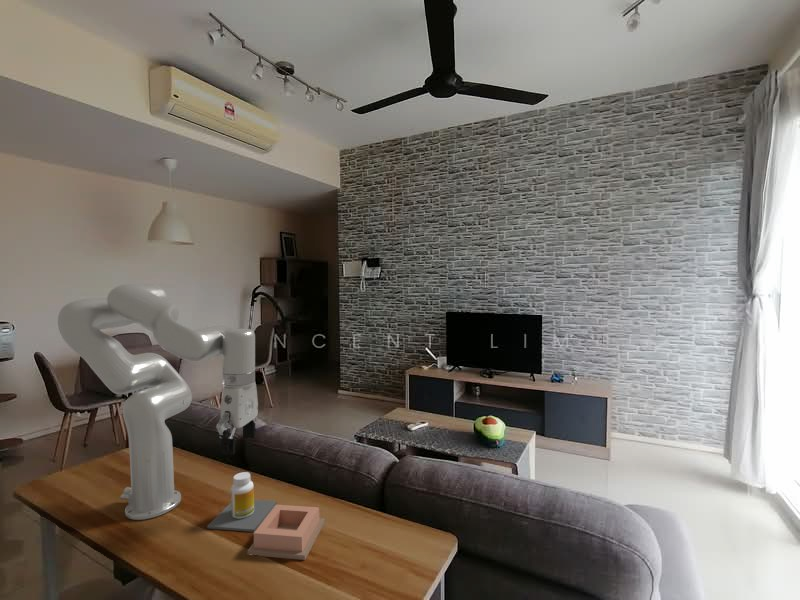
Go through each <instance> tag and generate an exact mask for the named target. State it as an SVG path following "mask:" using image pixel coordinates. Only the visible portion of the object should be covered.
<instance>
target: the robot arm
mask: <svg viewBox="0 0 800 600" xmlns="http://www.w3.org/2000/svg"><path fill="white" fill-rule="evenodd" d="M179 310H180V309H179V308H178V305H177V304H174V303H173V302H171V301H169V297H168V294H167V292H166V291H165V290H164V288H162V287H161V286H159V285H157V284H154V283H125V284H120V285H117V286H115V287H114V288H112V289H111V290H110V291H109V292H108V294H107V297H93V298H82V299H77V300H74V301H70V302H68V303H66V304H65V305H64V306H62V307H61V309H60V310H59V312H58V314H57V315H58V316H57V327H58V332H59V333H60V336H61V338H62V339H63V341H64V342H65V344H67V345H68V347H69V348H70V349H72V350H73V352H75V353H76V354H77V355H78V356H80V357H81V358H82V359H83V360H84V362H86V363H87V365H88V366H89V367H90V369H91V370H92V371H93V373H94V374H95V375H96V376H97V378H99V380H101V382H102V383H103V384H104V385H105V387H107V388H108V389H109V390H110V391H111V392H112V393H113V394H116V395H125V394H130V393H133V392H134V393H133V394H131V395H130V396H129V397H128V398H127V399H126V400H125V402H124V403H123V406H122V416H123V419H124V424H125V427H126V431H127V436H128V446H129V447H128V448H129V449H128V451H129V462H130V463H129V466H130V467H129V468H130V485H131V486H130V487H129V486H126V487H125V488H124V490H123V493H122V494H121V495H120V499H121V500H128V501H127V502H128V504H127V505H126V507H125V509H124V514H125V517H126V518H127V519H130V520H136V521H140V520H141V521H142V520H149V519H153V518H156V517H160V516H162V515H164V514H166V513H169V512H170V511H171V510H173V509H175V508H176V507H177V506H179V504H180V503H181V501H182V493H181V492H180V491H179V490H175V478H174V477H175V474H174V450H173V447H174V446H173V436H172V433H171V430H170V429H169V427H168V426H167V424H166V423H165V420H168V419H169V418H171V417H173V416H175V415H177V414H180V413H181V412H183V411H186V409H188V408H189V406H190V405H191V403H192V400H193V394H192V391H191V388H190V386H189V385H188V383H187V382H186V381H185V379H184V378H183V376H181V375H180V373H178V371H177V370H176V369H175V368H174V367H173V366H172V365H171V363H170V362H169V361H168V360H167V359H166V358H164V356H162V355H160V354H158V353H155V352H143V353H138V354H132V353H131V352H129V351H128V350H127V349H126V348H125V347H124V346H123V344H122V343H121V342H120V341H118V340H117V339H116V338H114V337H112V336H111V335H109V334H107V333H104V332H103V331H102V330H106V329H112V328H113V329H114V328H121V327H125V326H130V325H133V324H136V325H139V326H140V327H142V328H144V329H146V330H147V331H150V332H152V335H153V338H154V340H155V341H156V343H157V344H158V346H159V347H160V348H161V349H163V350H164V351H166V352H168V353H170V354H171V355H173V356H175V357H177V358H179V359H182V360H185V361H188V362H201V361H203V360H207V359H211V358H214V357H218V356H222V393H221V401H220V402H221V403H220V419H219V421H218V422H217V424H216V426H215V428H216V430H217V434H218V436H219V439H220V451H221V452H220V453H221V454H222V455H231V456H233V455H234V454H236V446H235V445H236V444H235V443H236V439H235V437H234V436H235V432H236V429H241V428H242V438H246V439H254V438H255V437H256V421H257V417H258V414H259V401H258V390H257V389H258V388H257V384H256V334H255V332H254V330H253V329H250V328H232V327H227V326H222V325H215V326H207V327H202V328H197V329H192V328H189V327H187V326H185V325H183V324H181V323H180V322H177V321H178V319H179V315H180V311H179ZM228 429H230V430H229V431H230V432H229V431H228Z"/></svg>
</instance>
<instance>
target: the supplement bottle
mask: <svg viewBox="0 0 800 600" xmlns="http://www.w3.org/2000/svg"><path fill="white" fill-rule="evenodd" d="M251 478H252V477H251V473H250V472H248V471H243V472H239V473H236V474H235V475H234V476H233V480H232V481H233V484H232V485H231V487H230V503H231V511H232V516H233V517H234V518H237V519H241V518H246V517H248V516H250V515H251V514H252V513H253V512H254V500H255V491H254V489H255V487H254V482H253V481H252V479H251Z"/></svg>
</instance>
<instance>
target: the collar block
mask: <svg viewBox="0 0 800 600" xmlns="http://www.w3.org/2000/svg"><path fill="white" fill-rule="evenodd" d="M325 523H326V520H325V518H323V517H320V507H318V506H316V507H315V506H303V505H301V506H300V505H290V504H289V505H286V504H276V505H275V506H274V507H273V509H272V510H271V511H270V513H269V514H268V515H267V516H266V518H265V519H264V520H263V521H262V523H261V524H260V525H259V526H258V528H257V529H256V530H255V532H253V543H252V544H251V545H250V547H249V548H248V549H247V555H248V554H252V555H251V556H253V555H259V556H258V557H266V558H267V557H269V558H277V559H278V558H279V559H289V560H300V561H305V560H306V559H307V557H308V555H309V553H310V551H311V550H312V547H313V545H314V544H315V541H316V540H317V538H318V537H319V535H320V532H321V531H322V529H323V527H324V525H325Z"/></svg>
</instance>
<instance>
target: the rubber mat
mask: <svg viewBox="0 0 800 600" xmlns="http://www.w3.org/2000/svg"><path fill="white" fill-rule="evenodd" d="M275 505H278V503H277V500H268V499H267V500H265V499H254V512H253V513H252V514H251V515H250V516H248V517H246V518H241V519H237V518H234V517H233V516H232V511H231V502H230V503H228V505H226V506H225V507H224V508H223V509H222V510H221V511H220V513H218V515H217V516H216V517H214V519H212V521H211V522H209V523H208V525H207V526H206V528H207V529H210V530H211V529H212V530H224V531H225V530H226V531H237V532H248V533H249V532H250V533H254V532H255V531H256V530H257V528H258V527H259V526H260V524H261V523H262V522H263V521H264V519H265V518H266V517H267V516H268V514H269V513H270V512H271V510H272V509H273V508H274V507H275Z"/></svg>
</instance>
